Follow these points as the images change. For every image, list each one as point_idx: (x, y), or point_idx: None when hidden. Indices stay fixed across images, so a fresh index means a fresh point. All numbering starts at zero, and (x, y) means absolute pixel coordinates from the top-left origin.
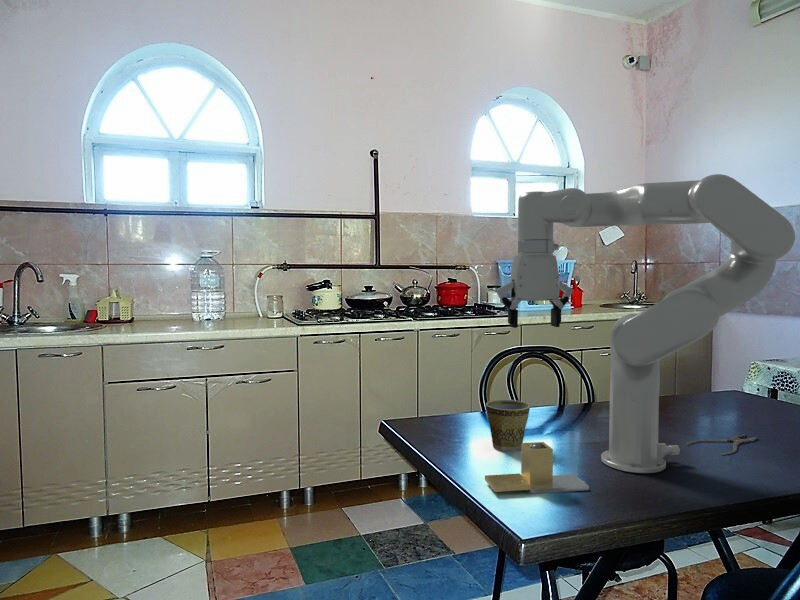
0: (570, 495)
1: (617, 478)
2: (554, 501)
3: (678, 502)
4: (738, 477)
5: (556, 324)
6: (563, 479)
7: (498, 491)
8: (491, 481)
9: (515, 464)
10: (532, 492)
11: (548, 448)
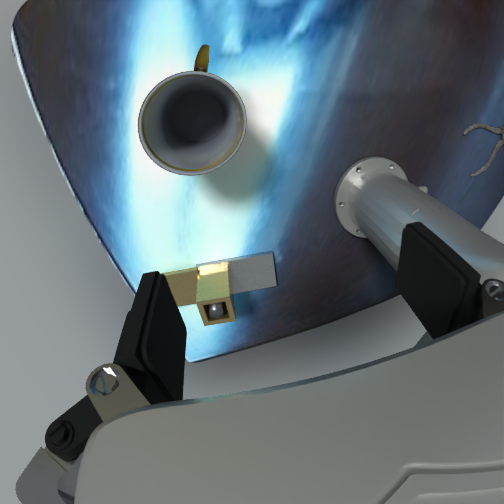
0: (250, 295)
1: (326, 247)
2: None
3: (349, 301)
4: None
5: (400, 293)
6: (252, 270)
7: None
8: None
9: (199, 201)
10: None
11: (230, 318)
